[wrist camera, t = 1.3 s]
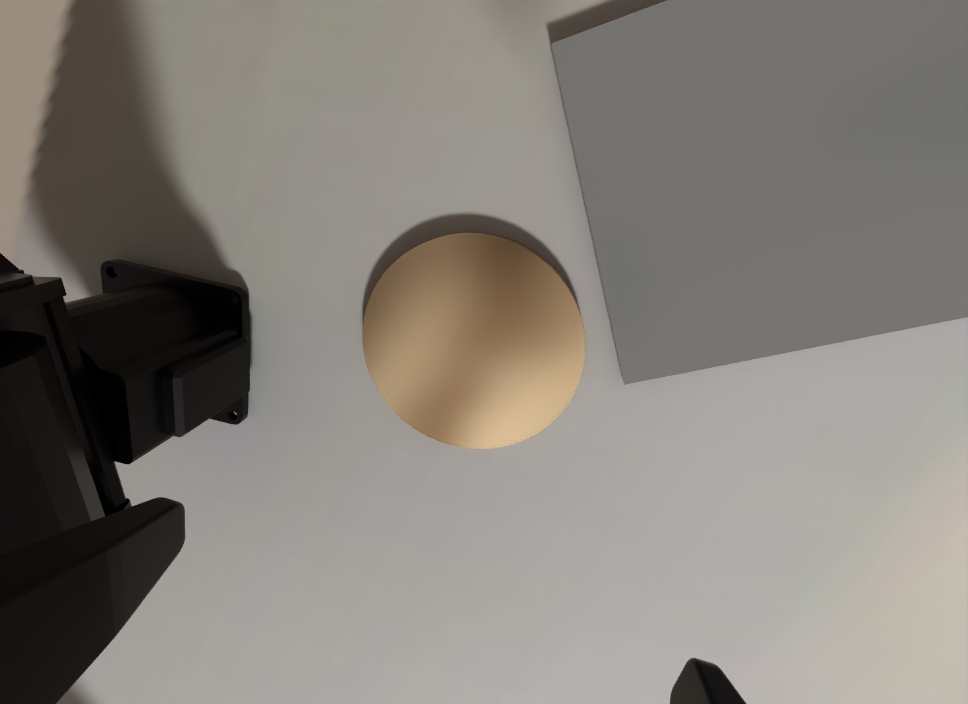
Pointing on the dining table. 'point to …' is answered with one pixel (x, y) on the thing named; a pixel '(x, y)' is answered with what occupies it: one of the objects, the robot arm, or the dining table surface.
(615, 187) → the slate coaster
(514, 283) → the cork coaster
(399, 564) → the dining table surface
